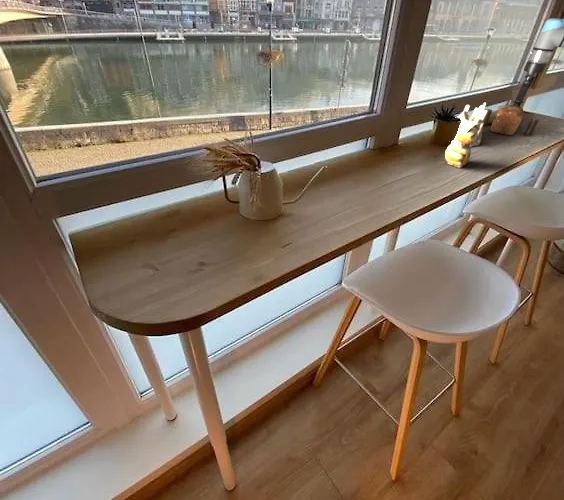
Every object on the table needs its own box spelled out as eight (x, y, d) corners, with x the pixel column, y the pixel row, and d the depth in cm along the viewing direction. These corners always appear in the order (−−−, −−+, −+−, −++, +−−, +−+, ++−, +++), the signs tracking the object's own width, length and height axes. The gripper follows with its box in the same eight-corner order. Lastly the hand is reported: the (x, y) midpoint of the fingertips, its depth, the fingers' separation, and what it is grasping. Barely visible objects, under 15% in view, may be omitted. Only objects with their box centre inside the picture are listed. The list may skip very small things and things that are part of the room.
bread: (513, 136, 143) (525, 113, 137) (487, 131, 148) (497, 108, 141) (516, 126, 156) (526, 104, 150) (491, 121, 160) (501, 100, 154)
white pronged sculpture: (450, 129, 147) (463, 94, 137) (486, 141, 138) (503, 105, 128) (432, 139, 139) (444, 102, 129) (469, 152, 130) (485, 114, 120)
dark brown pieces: (531, 134, 146) (540, 118, 142) (530, 136, 144) (539, 120, 140) (479, 123, 157) (486, 108, 152) (478, 125, 155) (484, 109, 151)
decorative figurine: (462, 171, 113) (480, 127, 103) (438, 164, 116) (453, 121, 107) (469, 162, 119) (486, 120, 109) (445, 156, 122) (460, 115, 113)
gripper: (530, 58, 148) (505, 112, 163) (525, 62, 140) (499, 118, 155) (549, 61, 144) (522, 115, 159) (545, 64, 136) (517, 122, 151)
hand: (511, 117), depth 157 cm, fingers closed
